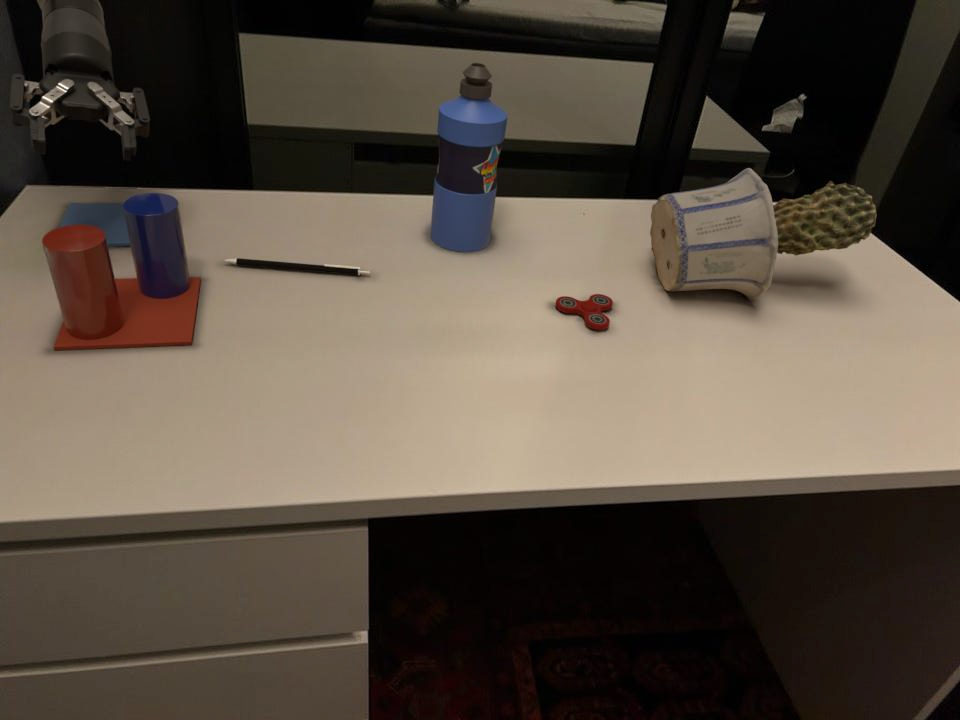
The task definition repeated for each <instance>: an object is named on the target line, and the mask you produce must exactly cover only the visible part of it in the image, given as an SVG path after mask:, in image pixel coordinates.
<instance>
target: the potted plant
mask: <svg viewBox="0 0 960 720" xmlns="http://www.w3.org/2000/svg"><path fill="white" fill-rule="evenodd" d="M877 216H878V215H877V208H876V204H875V203H874V202H873V195H870V194H868V193H866V191H865V189H864V188H862V187H859V186H856V185H853V184H849V183H847V182H843V183H838V184H835V183H834V181H831V180H829V181H828V183H826V184H825V186H824V187H821V188H819V189H816V190H815V191H814V192H813V193H812V194H804V195H803V196H801V197H799V198H794V199H791V198H790V199H789V198H784V197H783V198H782V199H780V200H778V202H776V203H775V204H774V203H773V198H772V194H771V192H770V189H769V187H768V184H766V183H765V182H764V181H763V179H762V178H761V177H760V176H759V175H758V173H756V172H755V171H754V170H753V169H752V168H750V167H747V168H745V169H743V170H742V171H740V172H738V174H737V175H735V176H734V177H732V178H731V179H730V180H728V181H727V182H724V183H721V184H718V185H714V186H709V187H704V188H697V189H693V190H686V191H679V192H678V191H675V192H671V193H666V194H663V195H661V196H659V197H658V198H657V201H656V202H655V203H654V204H653V205H652V206H651V213H650V219H651V220H650V221H651V224H650V225H651V226H650V232H649V234H650V244H651V252H652V254H653V259H654V262H655V266H656V270H657V271H656V272H657V278H658V279H657V280H658V281H659V282H660V283H661V285H662V287H663V289H664V290H665V291H667V292H689V291H690V292H692V291H701V290H703V291H704V290H730V291H731V290H732V291H736V292H738V293H740V294H742V295H744V296H745V297H746V298H747V299H748V300H754V299H757V298H759V297H761V296H762V295H763V294H765V293H766V292H767V291H768V290H769V289H770V287H771V285H772V283H773V275H774V272H775V266H776V260H777V255H778V254H779V255H782V254H783V253H785V254H786V255H794V256H796V257H797V256H801V255H807V254H813V253H814V252H815V251H830V250H843V249H848V248H849V247H851V246H852V245H856V244H860V242H861V241H865V240H866V239H868V238H869V237H870V236H871V235H870V234H871V233H872V229H873V228H874V227H875V226H876V221H877Z"/></svg>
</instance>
